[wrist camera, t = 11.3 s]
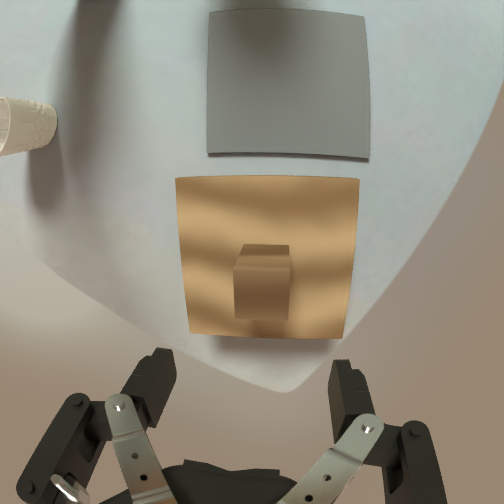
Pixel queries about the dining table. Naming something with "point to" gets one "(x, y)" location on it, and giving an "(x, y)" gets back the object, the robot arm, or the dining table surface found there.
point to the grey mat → (288, 82)
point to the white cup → (25, 125)
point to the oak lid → (267, 254)
